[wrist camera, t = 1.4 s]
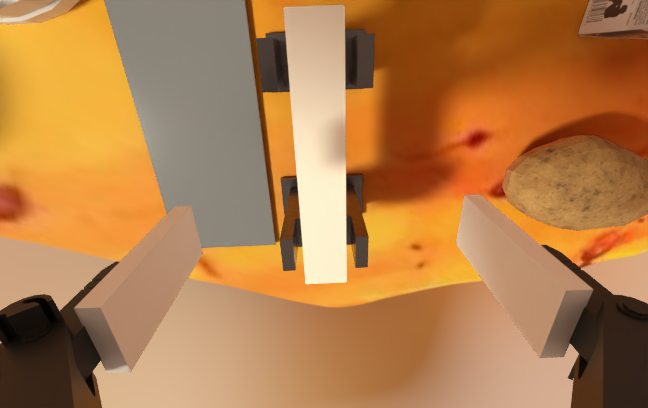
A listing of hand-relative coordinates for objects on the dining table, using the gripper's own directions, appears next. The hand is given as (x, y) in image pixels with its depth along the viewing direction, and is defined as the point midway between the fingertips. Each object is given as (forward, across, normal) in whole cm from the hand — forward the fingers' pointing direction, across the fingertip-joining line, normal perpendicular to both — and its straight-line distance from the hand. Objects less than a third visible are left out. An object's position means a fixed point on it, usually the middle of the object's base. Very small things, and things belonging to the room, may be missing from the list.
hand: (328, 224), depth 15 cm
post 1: (+19, 0, +7) cm, 20 cm away
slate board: (+19, -12, 0) cm, 23 cm away
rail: (+11, 0, 0) cm, 11 cm away
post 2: (+19, 0, -7) cm, 20 cm away
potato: (+20, +25, -5) cm, 32 cm away
